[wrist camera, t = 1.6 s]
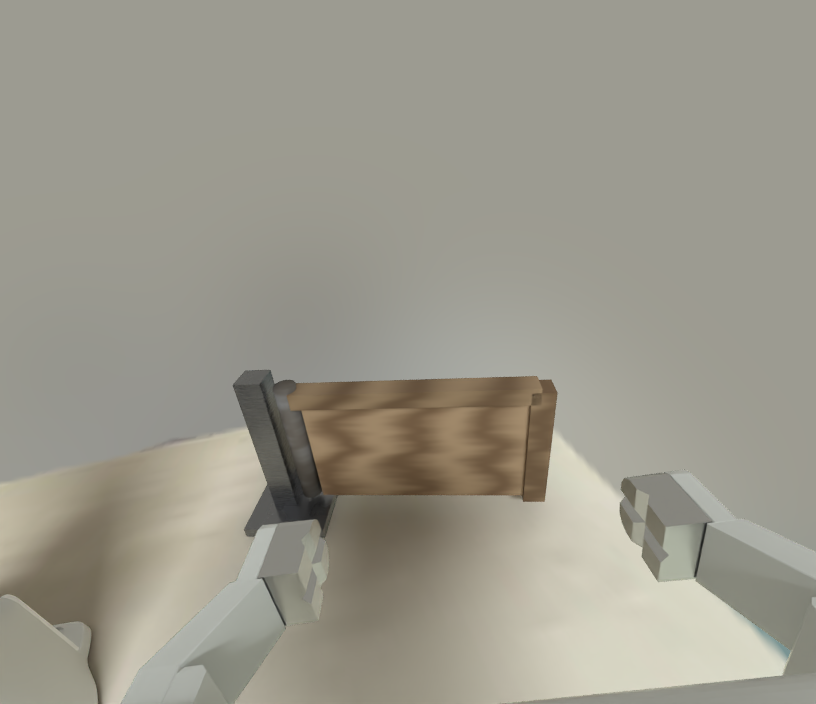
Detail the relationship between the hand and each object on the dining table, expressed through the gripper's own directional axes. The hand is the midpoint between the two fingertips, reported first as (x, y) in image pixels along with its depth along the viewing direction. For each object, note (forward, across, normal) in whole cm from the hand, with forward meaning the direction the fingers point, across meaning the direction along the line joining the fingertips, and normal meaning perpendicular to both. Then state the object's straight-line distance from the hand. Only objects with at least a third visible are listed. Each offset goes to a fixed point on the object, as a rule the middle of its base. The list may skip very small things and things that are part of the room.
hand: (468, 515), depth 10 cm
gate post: (+24, +17, +21) cm, 36 cm away
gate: (+22, +4, +20) cm, 30 cm away
